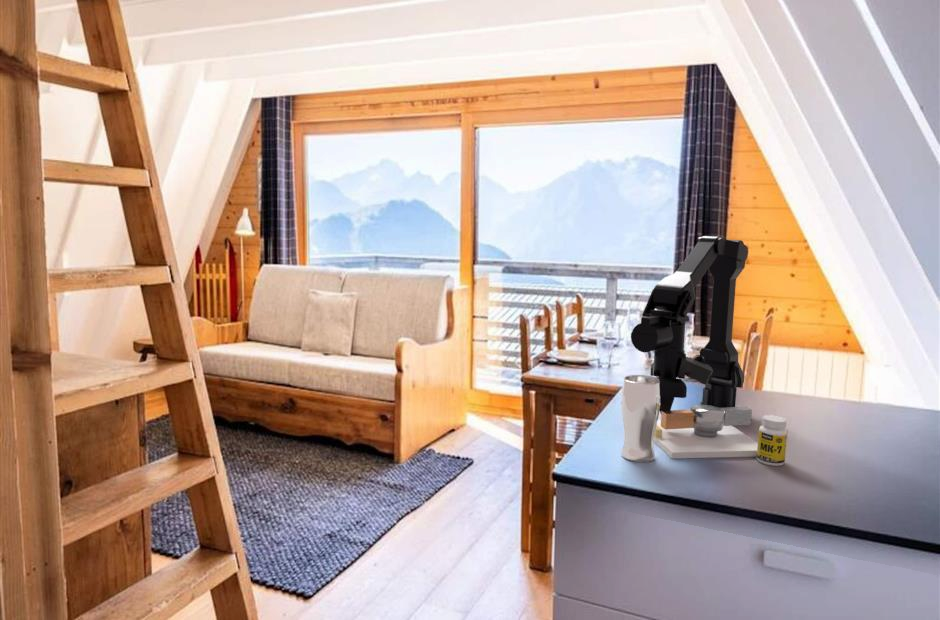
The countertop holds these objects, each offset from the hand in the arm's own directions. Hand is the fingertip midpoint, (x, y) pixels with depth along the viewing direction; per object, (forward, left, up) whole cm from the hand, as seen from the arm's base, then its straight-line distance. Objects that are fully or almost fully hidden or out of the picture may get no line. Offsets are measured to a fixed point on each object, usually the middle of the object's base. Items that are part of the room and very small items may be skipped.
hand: (664, 418), depth 133 cm
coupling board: (-6, +4, -3) cm, 8 cm away
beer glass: (+10, +12, -4) cm, 16 cm away
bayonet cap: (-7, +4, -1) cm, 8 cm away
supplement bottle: (-14, +16, -4) cm, 21 cm away
